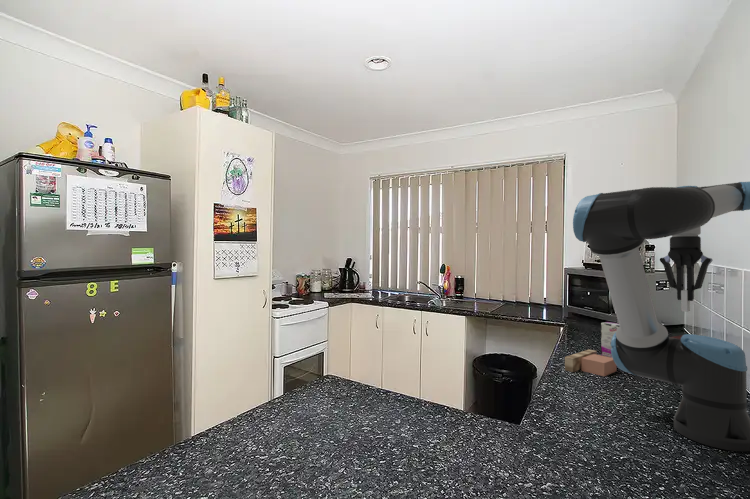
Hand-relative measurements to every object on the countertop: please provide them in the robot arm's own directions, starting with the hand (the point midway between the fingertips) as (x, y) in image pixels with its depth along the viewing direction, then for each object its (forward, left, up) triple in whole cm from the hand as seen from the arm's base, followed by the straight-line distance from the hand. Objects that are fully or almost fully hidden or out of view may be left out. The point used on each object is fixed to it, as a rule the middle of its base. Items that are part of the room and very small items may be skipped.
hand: (685, 310), depth 117 cm
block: (+3, +27, -27) cm, 38 cm away
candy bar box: (+16, +26, -27) cm, 40 cm away
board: (+3, +34, -26) cm, 43 cm away
